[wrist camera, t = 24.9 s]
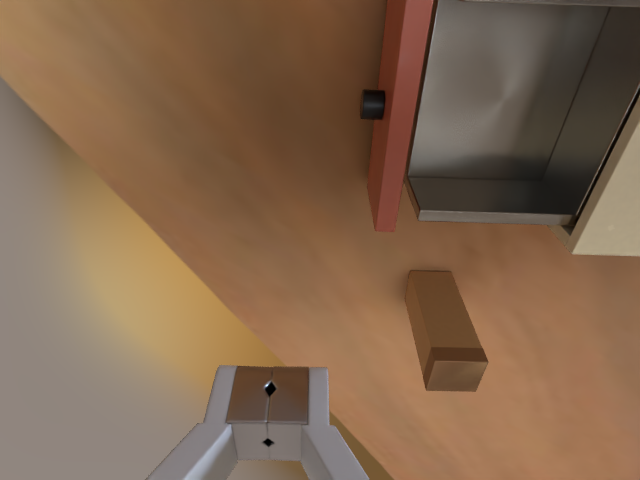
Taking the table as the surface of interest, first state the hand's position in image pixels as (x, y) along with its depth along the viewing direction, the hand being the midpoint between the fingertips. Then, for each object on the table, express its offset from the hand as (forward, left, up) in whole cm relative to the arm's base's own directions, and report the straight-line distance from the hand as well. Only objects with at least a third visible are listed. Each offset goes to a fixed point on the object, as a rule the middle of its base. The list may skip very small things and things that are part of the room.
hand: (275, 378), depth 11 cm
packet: (+7, +16, -20) cm, 26 cm away
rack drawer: (-7, +8, -19) cm, 21 cm away
